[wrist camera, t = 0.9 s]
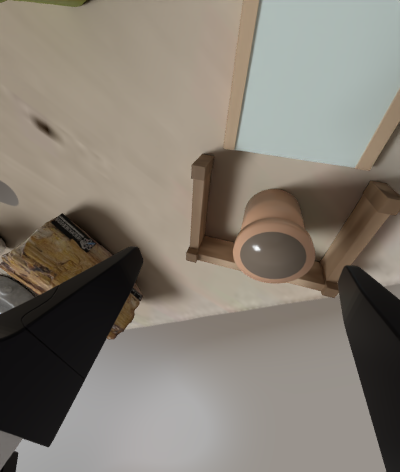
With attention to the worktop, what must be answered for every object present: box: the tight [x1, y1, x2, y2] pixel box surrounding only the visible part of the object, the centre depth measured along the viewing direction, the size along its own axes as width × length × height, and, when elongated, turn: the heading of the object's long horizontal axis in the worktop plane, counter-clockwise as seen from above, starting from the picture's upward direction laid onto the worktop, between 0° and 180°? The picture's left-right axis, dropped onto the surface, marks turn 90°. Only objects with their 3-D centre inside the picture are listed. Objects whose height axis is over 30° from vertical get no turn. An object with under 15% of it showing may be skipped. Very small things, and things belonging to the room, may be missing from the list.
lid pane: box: [223, 0, 400, 171], centre depth 14 cm, size 12×11×1 cm
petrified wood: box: [0, 213, 143, 339], centre depth 33 cm, size 19×13×10 cm
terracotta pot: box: [233, 189, 315, 283], centre depth 19 cm, size 6×6×7 cm
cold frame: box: [186, 154, 400, 298], centre depth 20 cm, size 16×11×4 cm
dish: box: [0, 276, 35, 313], centre depth 54 cm, size 14×14×5 cm
